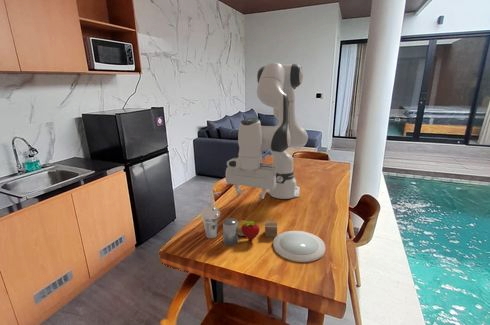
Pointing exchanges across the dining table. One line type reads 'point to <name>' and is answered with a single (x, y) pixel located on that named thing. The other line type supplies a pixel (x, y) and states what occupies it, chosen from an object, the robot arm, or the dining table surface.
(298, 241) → the plate
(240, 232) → the bread roll
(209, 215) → the cup with straw
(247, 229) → the strawberry
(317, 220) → the dining table surface
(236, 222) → the drinking glass
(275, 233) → the walnut block
